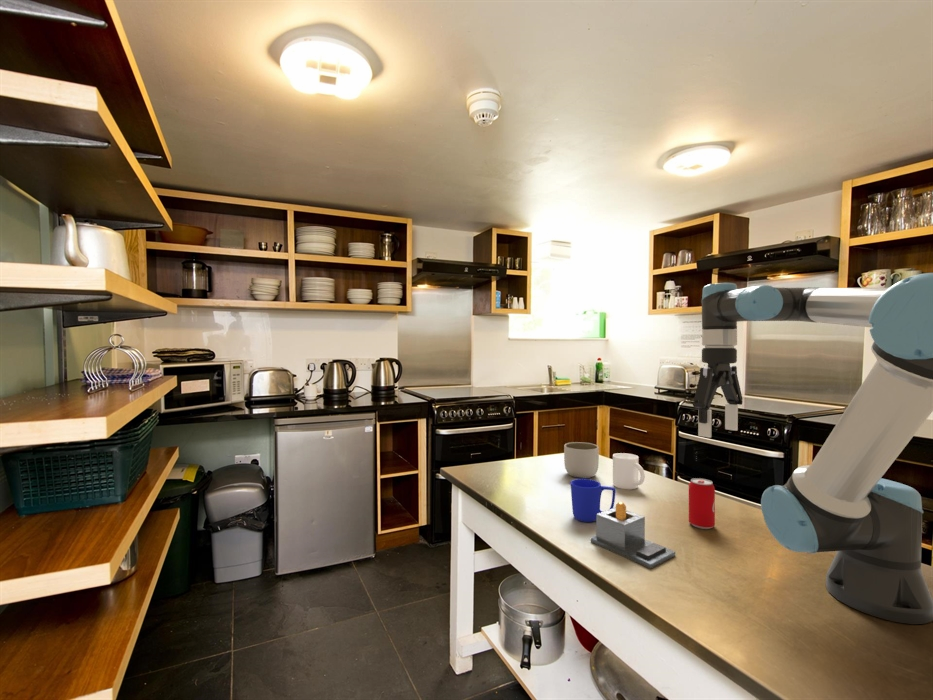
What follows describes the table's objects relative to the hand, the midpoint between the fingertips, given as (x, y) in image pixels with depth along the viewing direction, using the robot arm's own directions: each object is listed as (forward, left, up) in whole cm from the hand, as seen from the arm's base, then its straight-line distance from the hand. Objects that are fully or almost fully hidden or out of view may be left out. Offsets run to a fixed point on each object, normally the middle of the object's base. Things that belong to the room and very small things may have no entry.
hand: (718, 433), depth 110 cm
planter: (+56, -16, -27) cm, 64 cm away
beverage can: (+7, -6, -27) cm, 28 cm away
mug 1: (+27, +14, -27) cm, 41 cm away
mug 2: (+37, -18, -27) cm, 49 cm away
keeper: (+10, +21, -27) cm, 35 cm away
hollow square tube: (+13, +21, -26) cm, 36 cm away
